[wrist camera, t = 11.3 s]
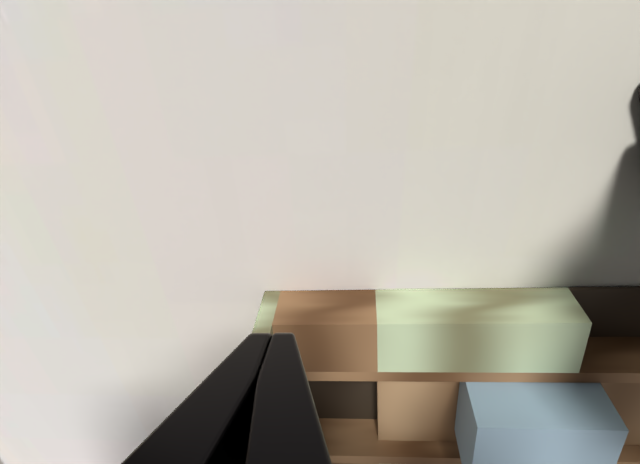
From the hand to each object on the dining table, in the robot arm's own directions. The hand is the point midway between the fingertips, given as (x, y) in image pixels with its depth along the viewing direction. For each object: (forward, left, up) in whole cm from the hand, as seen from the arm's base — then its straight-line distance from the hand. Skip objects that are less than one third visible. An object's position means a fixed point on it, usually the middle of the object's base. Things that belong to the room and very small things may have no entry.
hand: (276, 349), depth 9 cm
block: (-3, +16, -10) cm, 19 cm away
